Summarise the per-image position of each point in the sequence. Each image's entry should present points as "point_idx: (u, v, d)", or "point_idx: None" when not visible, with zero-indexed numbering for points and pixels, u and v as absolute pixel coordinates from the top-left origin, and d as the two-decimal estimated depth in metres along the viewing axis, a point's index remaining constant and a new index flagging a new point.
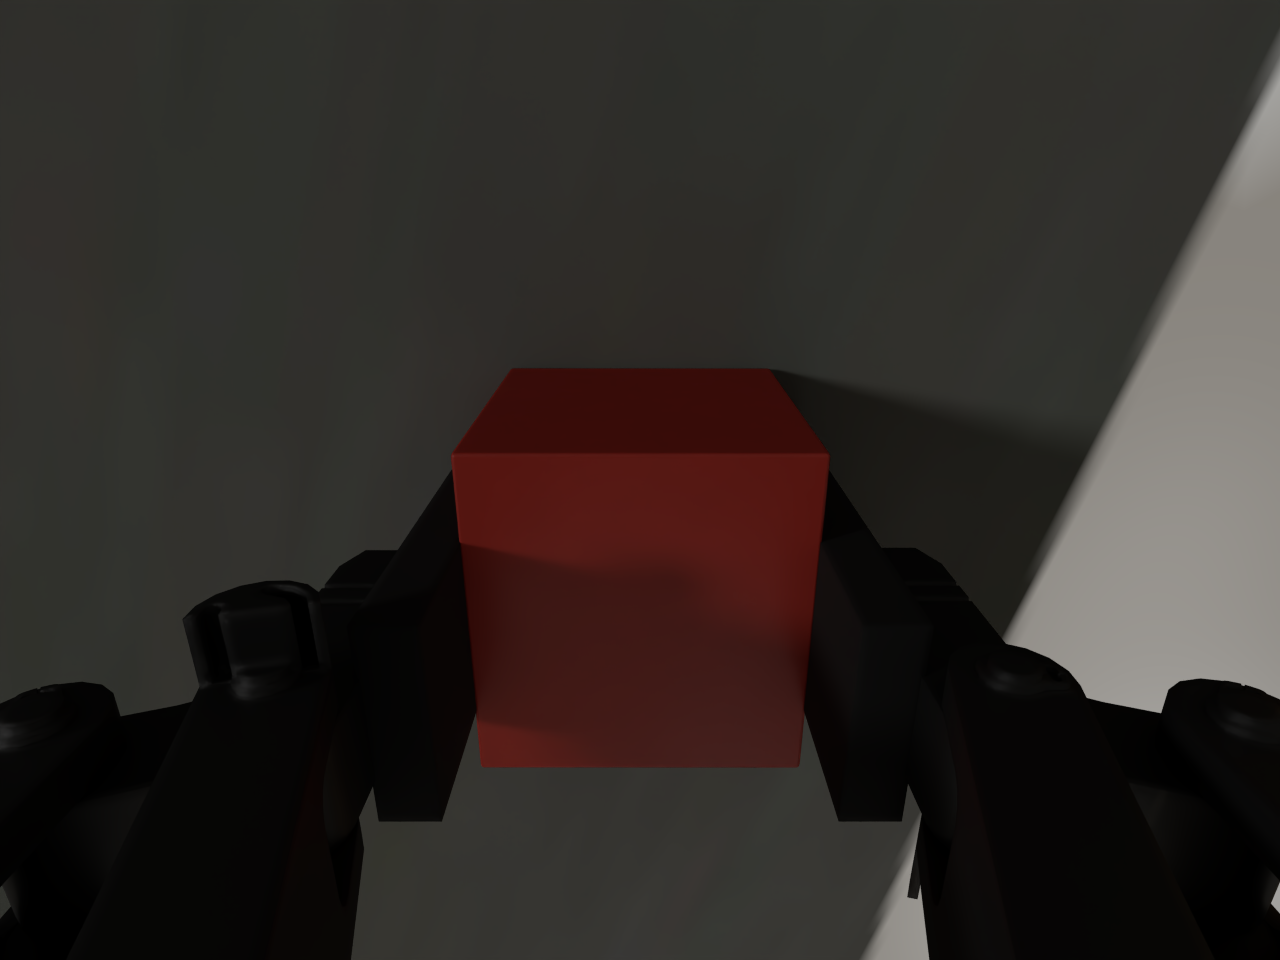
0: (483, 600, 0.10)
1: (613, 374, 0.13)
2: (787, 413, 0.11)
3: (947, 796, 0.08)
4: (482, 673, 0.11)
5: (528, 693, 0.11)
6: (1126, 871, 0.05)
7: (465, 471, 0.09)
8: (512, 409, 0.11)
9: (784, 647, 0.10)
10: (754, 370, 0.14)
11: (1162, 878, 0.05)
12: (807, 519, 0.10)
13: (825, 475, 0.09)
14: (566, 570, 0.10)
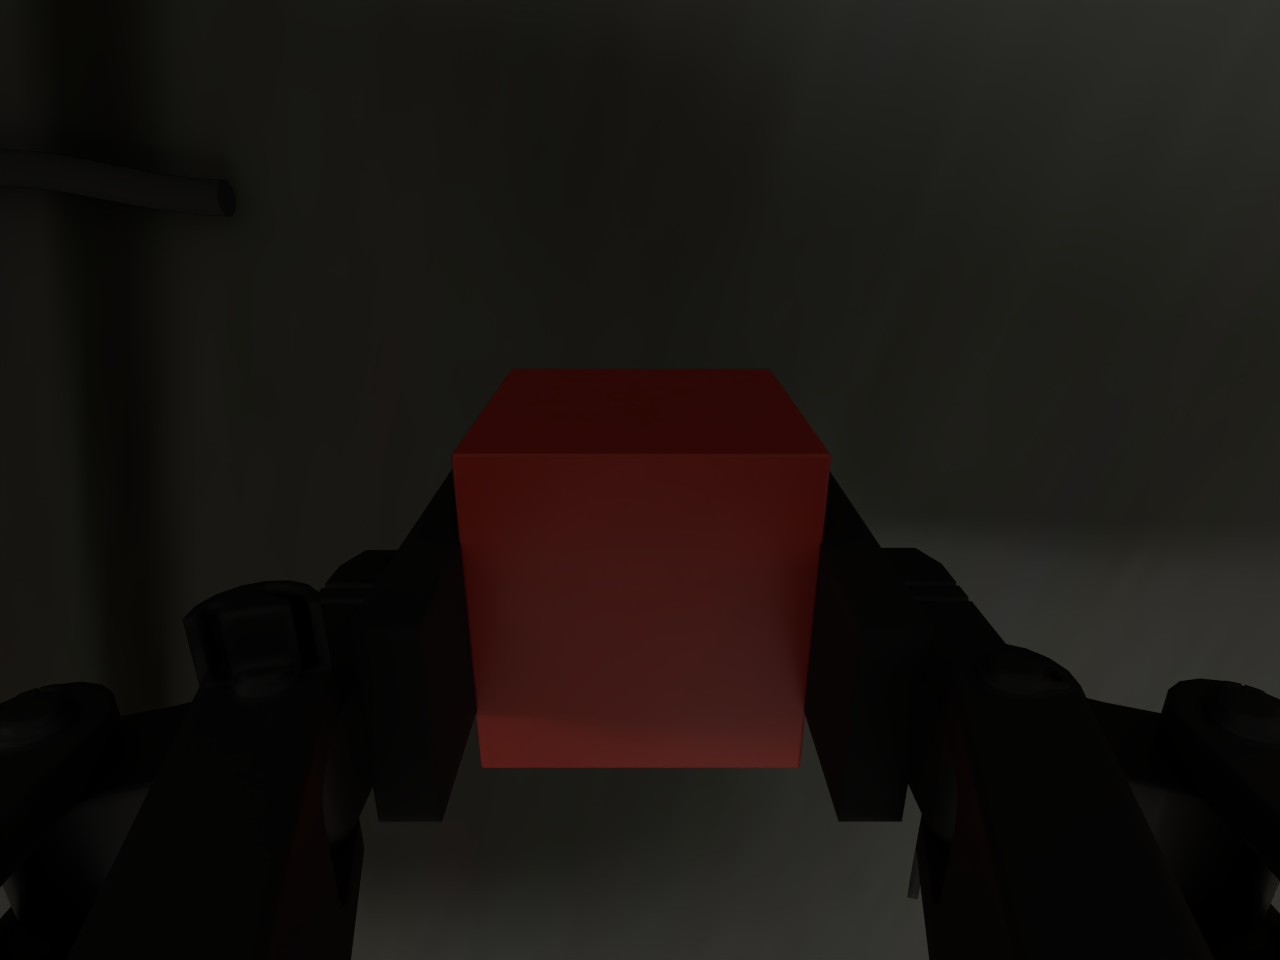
0: (483, 600, 0.10)
1: (613, 374, 0.13)
2: (788, 413, 0.11)
3: (947, 796, 0.08)
4: (482, 674, 0.11)
5: (527, 693, 0.11)
6: (1126, 871, 0.05)
7: (465, 472, 0.09)
8: (512, 408, 0.11)
9: (784, 647, 0.10)
10: (754, 371, 0.14)
11: (1162, 878, 0.05)
12: (808, 519, 0.10)
13: (826, 475, 0.09)
14: (567, 570, 0.10)
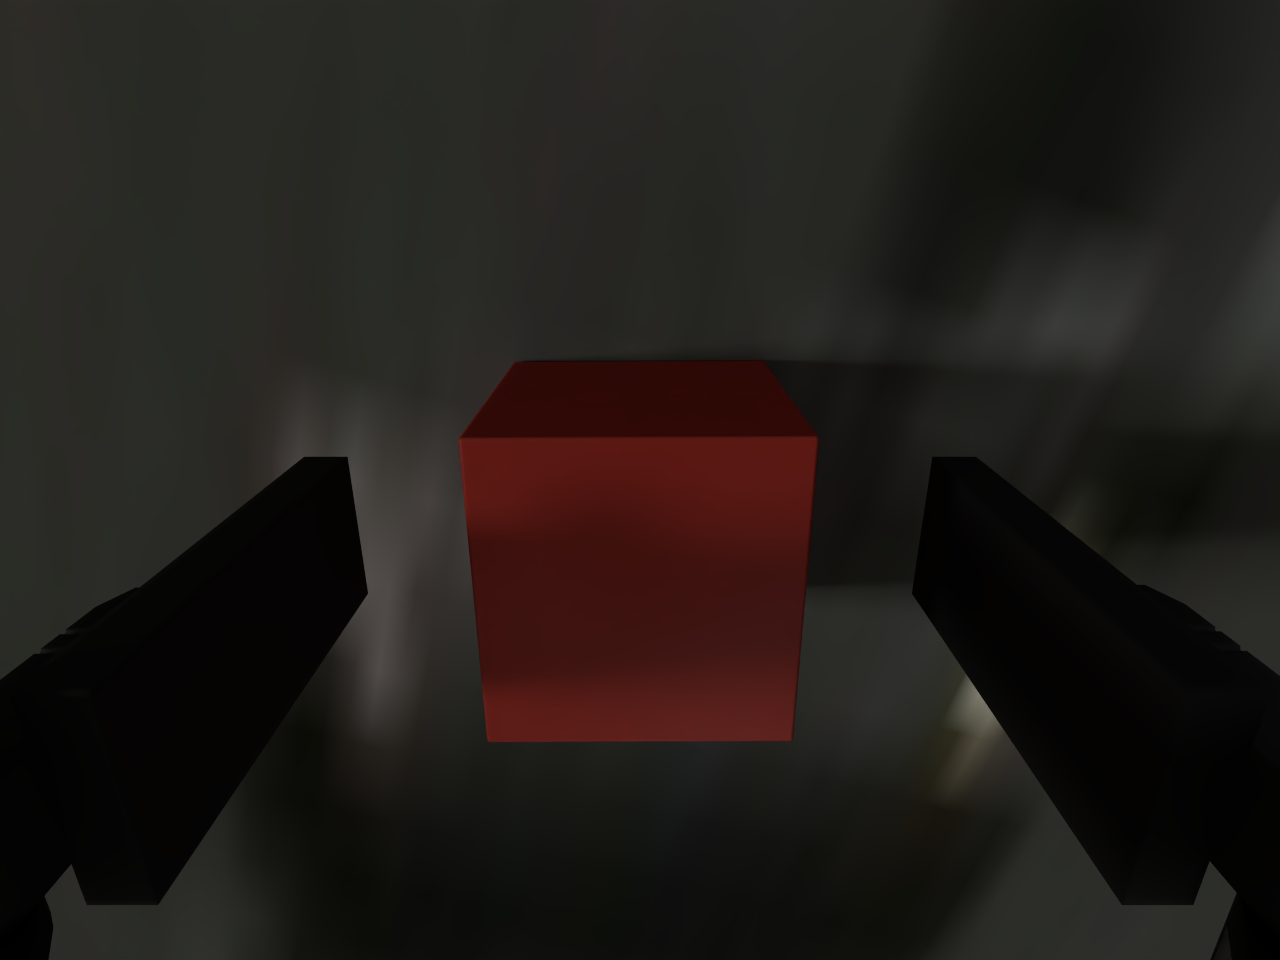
0: (489, 579, 0.11)
1: (613, 366, 0.14)
2: (779, 401, 0.11)
3: None
4: (488, 650, 0.11)
5: (532, 669, 0.11)
6: None
7: (472, 455, 0.10)
8: (516, 398, 0.12)
9: (777, 623, 0.11)
10: (748, 362, 0.14)
11: None
12: (797, 499, 0.10)
13: (814, 457, 0.10)
14: (568, 549, 0.10)
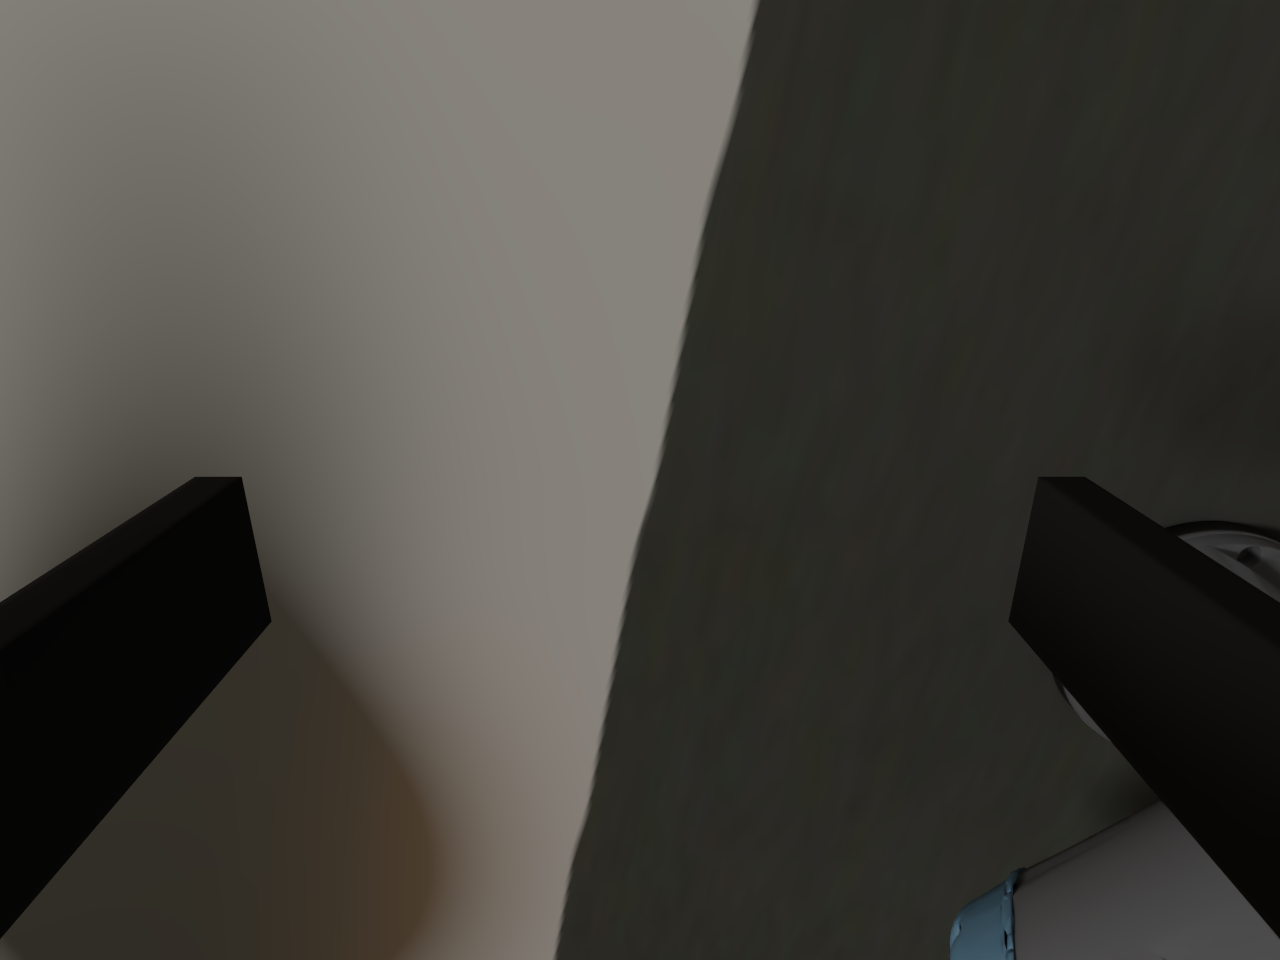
0: None
1: None
2: None
3: None
4: None
5: None
6: None
7: None
8: None
9: None
10: None
11: None
12: None
13: None
14: None
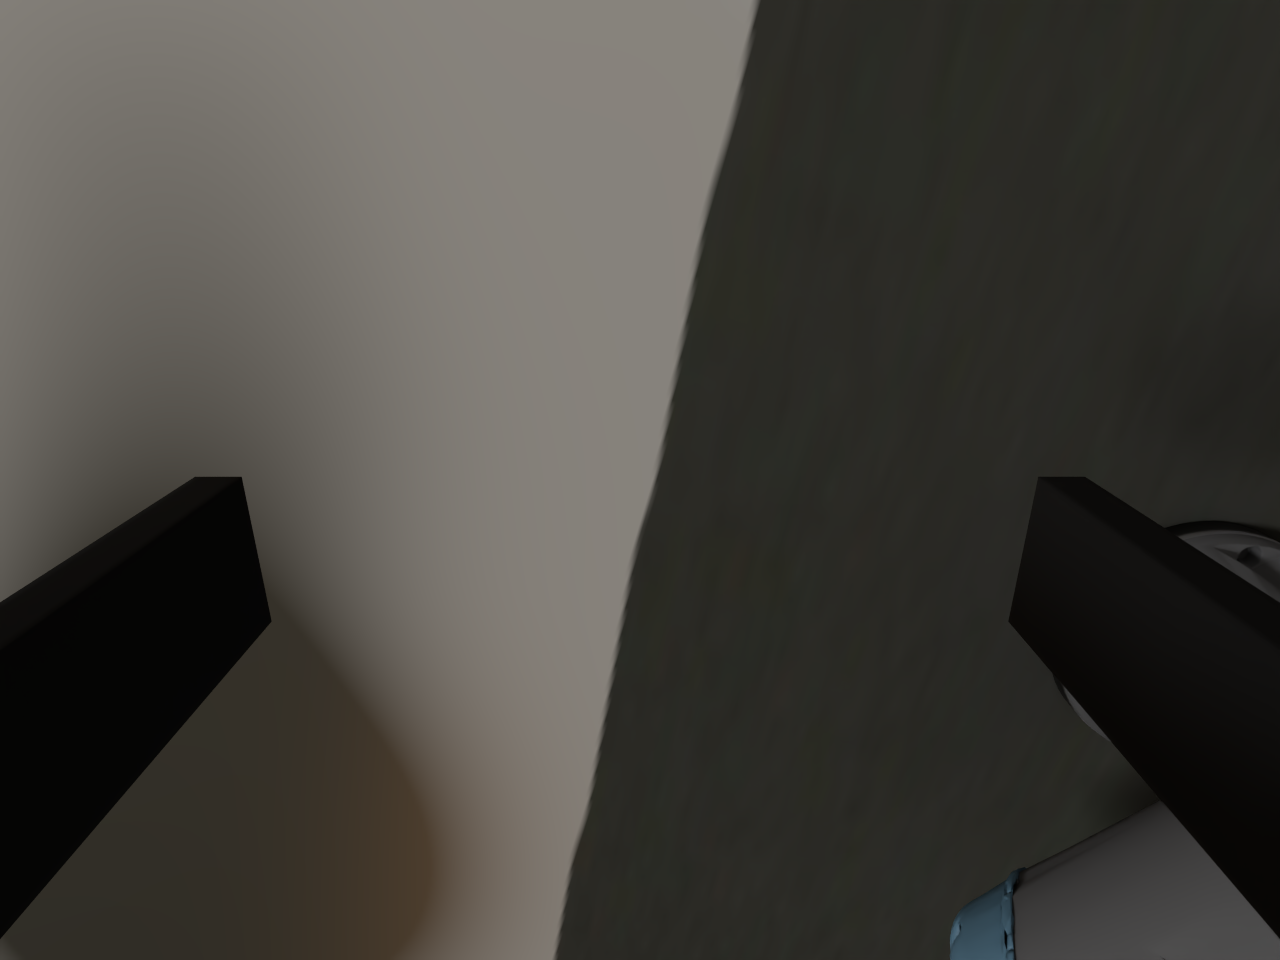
0: None
1: None
2: None
3: None
4: None
5: None
6: None
7: None
8: None
9: None
10: None
11: None
12: None
13: None
14: None
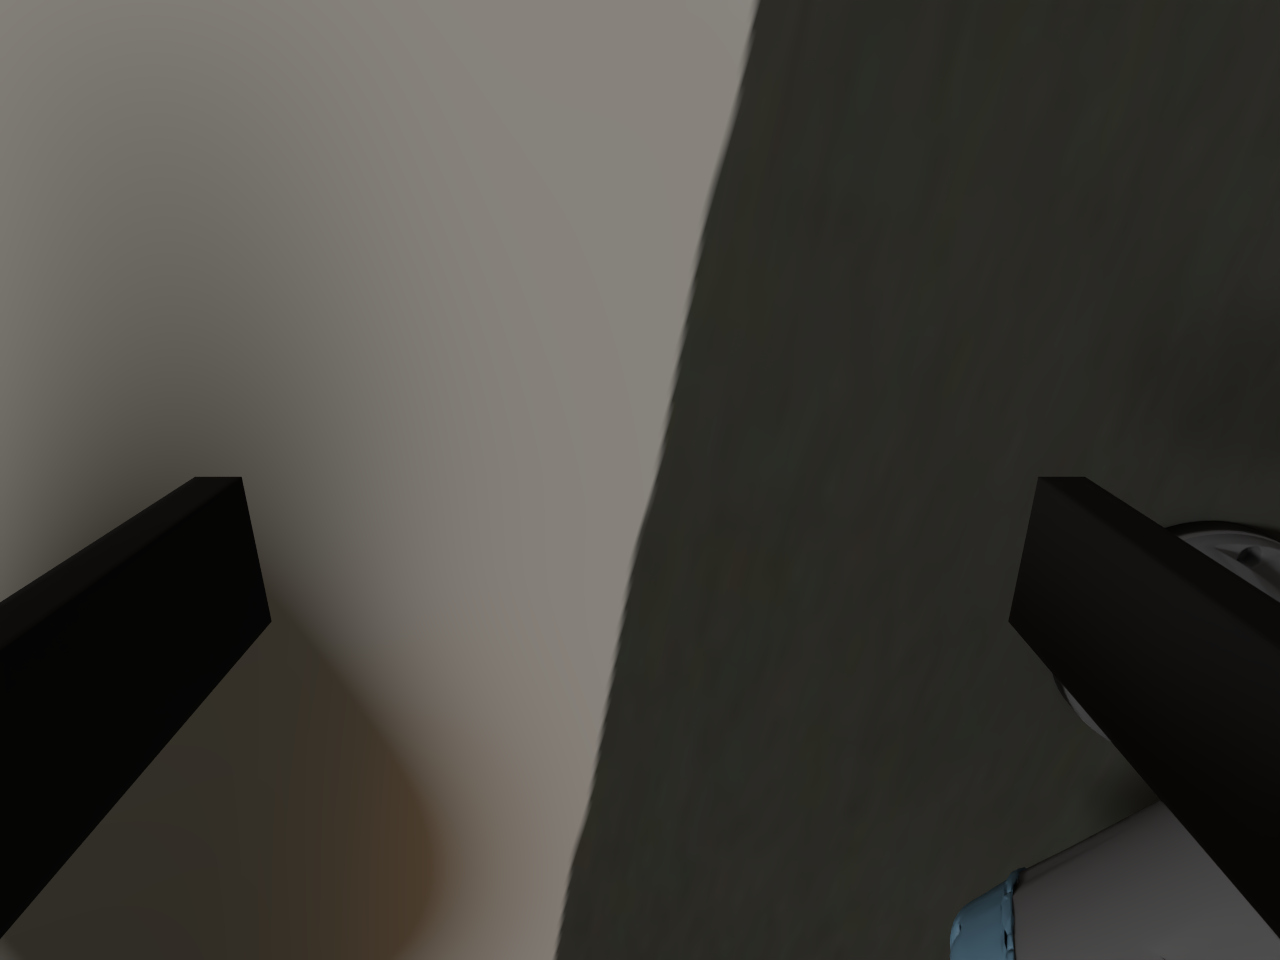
0: None
1: None
2: None
3: None
4: None
5: None
6: None
7: None
8: None
9: None
10: None
11: None
12: None
13: None
14: None
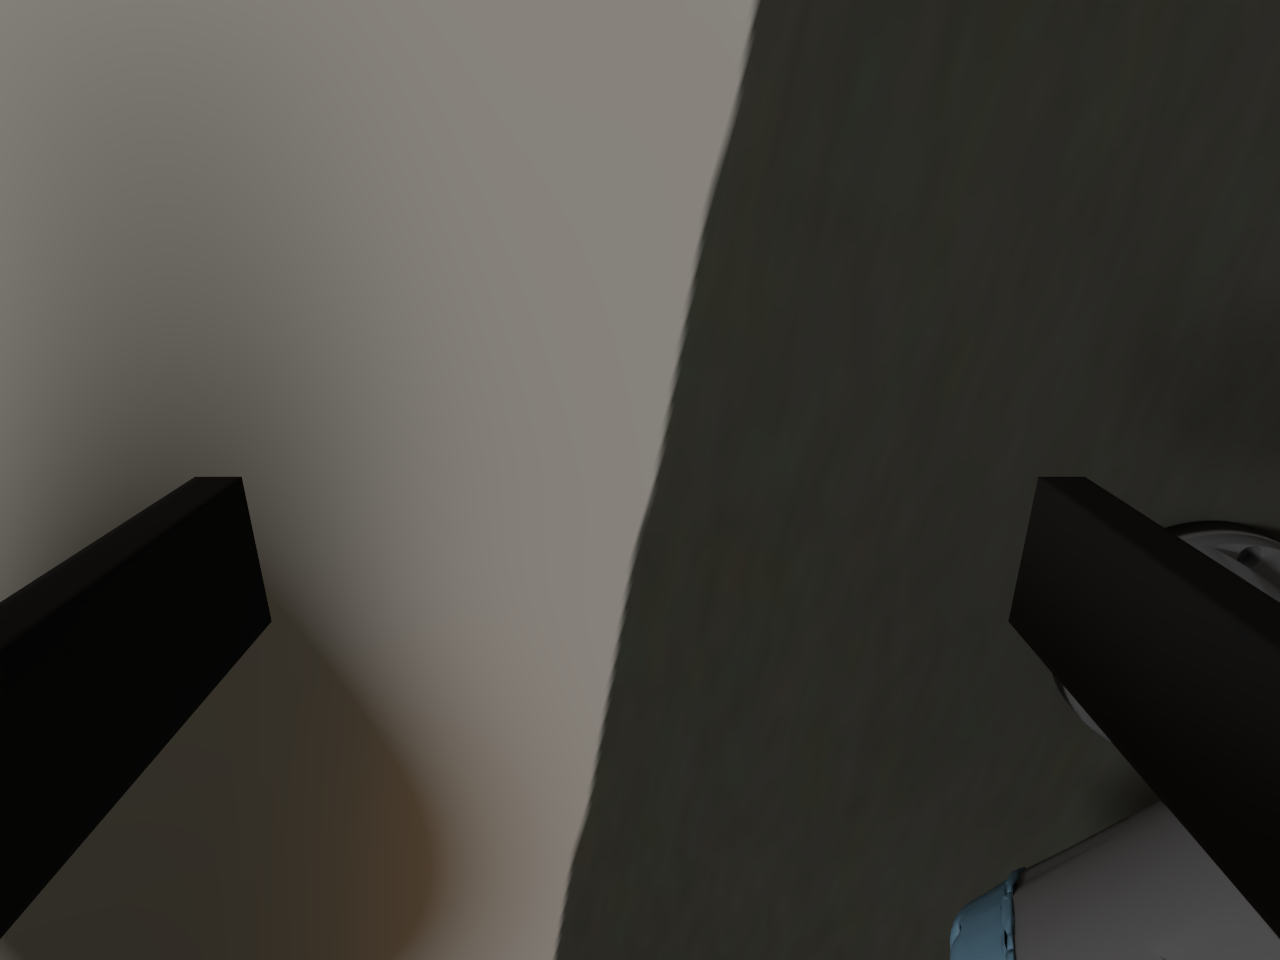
0: None
1: None
2: None
3: None
4: None
5: None
6: None
7: None
8: None
9: None
10: None
11: None
12: None
13: None
14: None
